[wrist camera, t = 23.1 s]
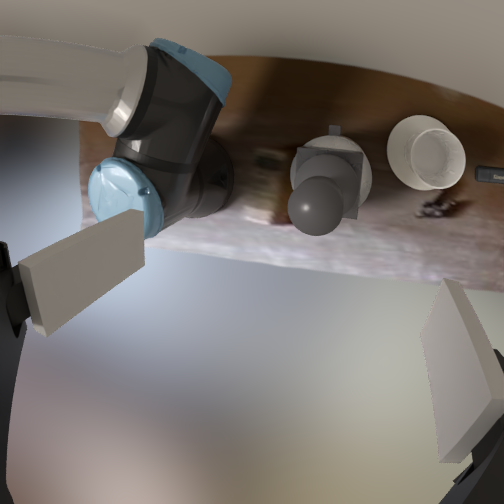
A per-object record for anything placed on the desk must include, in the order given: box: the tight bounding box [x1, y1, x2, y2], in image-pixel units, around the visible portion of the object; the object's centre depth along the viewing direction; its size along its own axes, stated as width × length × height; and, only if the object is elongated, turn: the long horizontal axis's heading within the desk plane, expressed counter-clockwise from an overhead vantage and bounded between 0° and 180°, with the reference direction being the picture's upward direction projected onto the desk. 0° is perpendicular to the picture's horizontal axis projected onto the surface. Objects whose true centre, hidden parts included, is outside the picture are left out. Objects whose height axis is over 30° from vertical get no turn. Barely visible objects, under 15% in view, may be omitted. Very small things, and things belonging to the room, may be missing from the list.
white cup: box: [403, 128, 466, 189], centre depth 39 cm, size 8×8×10 cm
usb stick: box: [475, 166, 504, 184], centre depth 41 cm, size 10×3×2 cm, turn 95°
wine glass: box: [288, 154, 358, 236], centre depth 30 cm, size 6×6×16 cm
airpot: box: [290, 125, 372, 219], centre depth 42 cm, size 13×10×19 cm
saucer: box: [387, 115, 450, 190], centre depth 44 cm, size 12×12×1 cm
